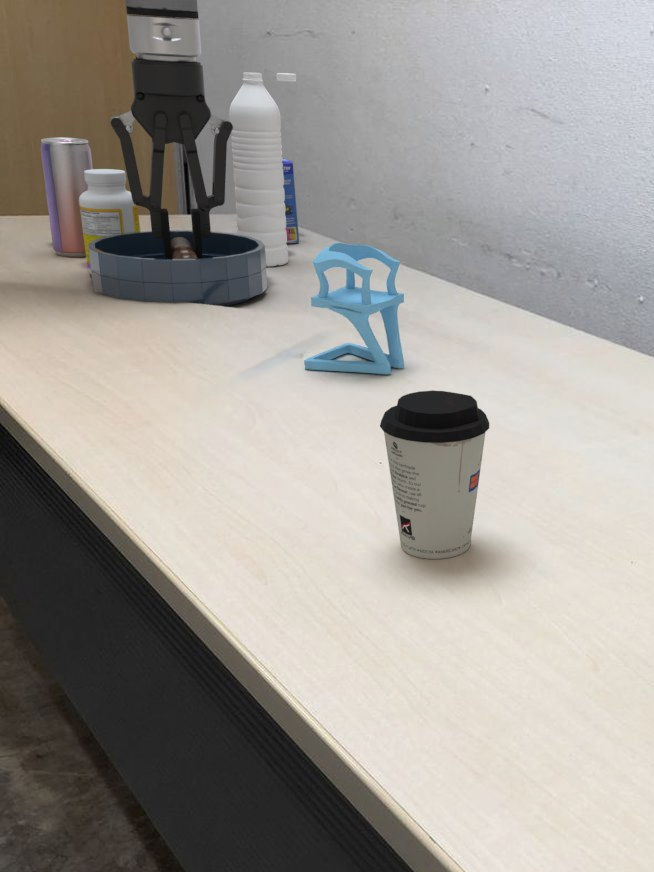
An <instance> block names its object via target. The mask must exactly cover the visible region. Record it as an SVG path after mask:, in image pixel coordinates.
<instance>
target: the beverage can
mask: <svg viewBox="0 0 654 872" xmlns="http://www.w3.org/2000/svg"><path fill="white" fill-rule="evenodd" d="M40 142H41V144H40V157H41V163H42V164H41V165H42V172H43V179H44V180H43V181H44V188H45V195H46V204H47V211H48V218H49V227H50V234H51V241H52V242H51V243H52V248H53V251H54V252H55V254H56V255H58V256H60V257H66V258H86V252H85V244H84V236H83V228H82V221H81V213H80V206H79V197H80V195H81V194H82V193H84V192H85V191H87V190H88V184H87V183H86V181H85V177H84V171H85V170H91V169H94V167H93V166H94V165H93V157H92V149H91V147H90V145H89V140H88V139H85V138H79V137H78V138H76V137H45V138H41V139H40Z"/></svg>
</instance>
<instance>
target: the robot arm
mask: <svg viewBox="0 0 654 872" xmlns="http://www.w3.org/2000/svg"><path fill="white" fill-rule="evenodd" d="M124 1H125V2H124V3H125V7H126V8H125V10H126V21H127V22H126V23H127V32H128V33H127V34H128V43H129V50H130V52H131V53H132V54H135V55H136V56H135V58H133V59H132V61H130V64H131V65H130V66H131V74H132V86H133V94H134V95H133V96H134V98H133V101H132V104H131V105H130V110H129V111H127V112H125V113H122V114H120V115H113V116H111V118H110V120H109V123H110V126H111V127H112V129H113V131H114V132H115V134H116V136H117V137H118V139H119V142H120V147H121V152H122V156H123V162H124V166H125V173H126V178H127V180H128V186H129V192H131V196H132V200H133V203H134V204H135V205H137V206H138V207H142V208H145V209H147V210H148V211H149V217H150V227H151V231H152V234H153V236H154V238H163V249H164V259H172V250H171V239H170V230H171V229H170V217H169V211H168V209H167V208H162V198H163V197H162V196H163V184H164V183H163V181H164V165H165V164H164V163H165V150H166V145H169V144H172V143H176V144H180V145H183V150H184V154H185V157H186V162H187V168H188V172H189V176H190V180H191V181H190V182H191V185H192V189H193V194H194V198H195V203H196V208H190V217H191V218H190V219H191V228H192V229H191V230H192V231H193V243H194V251H195V253H196V256H197V258H198V259H200V258H203V253H202V240H201V238H209V237H210V234H211V231H212V230H211V229H212V228H211V218H210V211H211V210H212V209H214V208H216V207H221V206H223V205H224V204H225V202H226V175H227V152H228V151H227V149H228V141H229V138H230V136H231V131H232V129H233V125H232V123H230V120H228V119H225V118H224V119H223V118H221V117H219V116H217V115H215V114H213V113H212V112H211V108H210V107H209V105H208V104H207V101H206V94H205V81H204V80H205V79H204V66H203V65H202V64H201V62H199V61H197V58H198V57H201V56H202V41H201V40H202V39H201V28H200V27H201V25H200V19H199V18H200V17H199V11H198V0H124ZM135 121H136V122H137V123H138V124H139V125H140V127H141V128H142V129H143V130H144V131H145V133H147V135H148V136H149V137H150V138H151V155H150V156H151V157H150V173H149V174H150V175H149V176H150V177H149V194H148V195H147V194H143V189H142V183H141V179H140V173H139V170H138V165H137V160H136V159H137V158H136V154H135V150H134V145H133V142H132V141H133V140H132V138H131V134H133V132H134V130H135V128H134V122H135ZM208 123H209V125H210V132H211V134H212V135H213V136H214V138H213V155H212V156H213V157H212V182H211V183H212V185H211V186H212V187H211V195H207V190H206V186H205V181H204V177H203V176H204V175H203V172H202V167H201V162H200V157H199V153H198V148H197V144H196V140H197V139H198V137H199V135H200V134H201V132H202V131H203V130H204V128H205V127H206V125H207V124H208Z"/></svg>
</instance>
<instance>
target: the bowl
mask: <svg viewBox="0 0 654 872" xmlns="http://www.w3.org/2000/svg"><path fill="white" fill-rule="evenodd" d="M176 237H183V238H186V239H187V240H188V241H189V242H190V243H191V245H192V247H193V249H194V243H193V231H192V229H190V230H189V229H188V230H187V229H170V239H171V240H172V239H173V238H176ZM201 240H202V253H203V258H200V259H164V249H163V238H154V236H153V234H152V230H145V231H140V232H130V233H123V234H115V235H110V236H106V237H102V238H98V239H96V240H94V241H92V242H90V243H89V244H88V247H89V257H90V265H91V274H92V275H91V274H90V275H91V282H92V290H93V291H92V292H94V293H100V294H101V295H103V296H107V297H110V298H116V299H119V300H125V301H126V300H128V301H136V302H144V303H145V302H146V303H173V304H176V303H178V304H179V303H191V304H198V305H207V306H217V307H227V306H233V305H238V304H241V303H244V302H248V301H249V300H251V299H252V298H254V297H256V296H259V295H261V294H263V293H265V291H266V290H267V289H268V275H267V274H268V273H267V266H266V255H265V245H264V244H263V242H262V241H260V240H257V239H255V238H252V237H249V236H243V235H238V234H237V233H232V232H223V231H212V230H211V234H210V237H209V238H201Z"/></svg>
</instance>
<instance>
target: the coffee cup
mask: <svg viewBox="0 0 654 872" xmlns="http://www.w3.org/2000/svg"><path fill="white" fill-rule="evenodd" d="M379 428H380V429H381V431H383V434H384V441H385V448H386V449H385V450H386V453H387V461H388V467H389V474H390V481H391V482H390V483H391V487H392V489H391V490H392V495H393V501H394V509H395V515H396V522H397V529H398V535H399V541H400V547H401V548H402V551H403V552H405V553H407V554H408V555H410V556H413V557H416V558H420V559H427V560H433V559H434V560H441V559H448V558H453V557H456V556H460V555H462V554H463V553H465V552H467V551H468V549H469V548H470V547H471V542H472V533H473V526H474V519H475V511H476V506H477V505H476V504H477V497H478V491H479V483H480V477H481V476H480V475H481V468H482V460H483V454H484V453H483V452H484V447H485V441H486V440H485V439H486V433H487V431H488V430H489V429H490V420H489V419H488V416H487V413H485V411H483V410H482V409H481V408H479V406H478V401H477V400H476V398H474V396H472V395H469V394H464V393H458V392H452V391H445V390H423V391H415V392H410V393H406V394H404V395H402V396H400V397H399V398H398V400H397V404H396V405H394V406H391V407H390V408H388V409H387V410H386V411H385V412H384V413H383V416H382V418H381V420H380V424H379Z"/></svg>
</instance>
